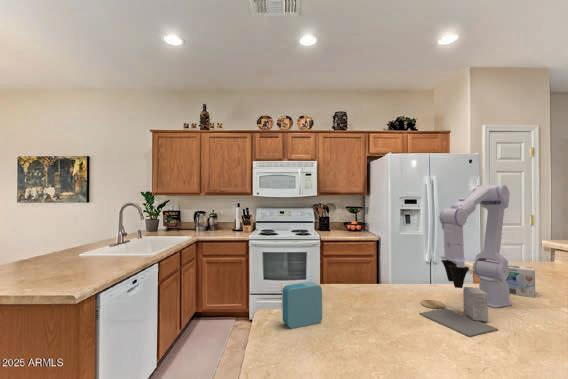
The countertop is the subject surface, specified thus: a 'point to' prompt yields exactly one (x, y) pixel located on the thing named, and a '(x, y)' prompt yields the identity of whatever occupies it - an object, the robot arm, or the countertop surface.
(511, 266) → the light bulb box
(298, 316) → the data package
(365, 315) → the countertop surface
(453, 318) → the mat
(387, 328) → the countertop surface
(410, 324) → the countertop surface
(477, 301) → the medicine box
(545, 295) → the countertop surface
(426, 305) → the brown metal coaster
